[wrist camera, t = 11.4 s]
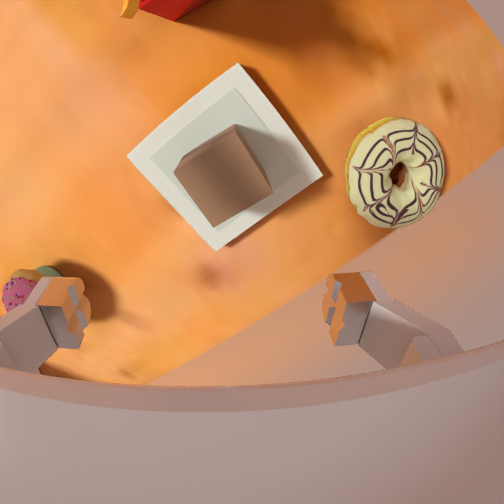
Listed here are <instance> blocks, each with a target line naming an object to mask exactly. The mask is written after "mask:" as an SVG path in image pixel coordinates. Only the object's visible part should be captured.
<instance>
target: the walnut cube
mask: <svg viewBox="0 0 504 504" xmlns="http://www.w3.org/2000/svg"><path fill="white" fill-rule="evenodd" d="M173 173H174V175H175V176H176V178H177V179H178V180H179V182H180V183H181V184H182V186H183V187H184V189H185V190H186V191H187V193H188V194H189V196H190V197H191V198H192V200H193V201H194V202H195V204H196V205H197V206H198V208H199V209H200V211H201V212H202V213H203V215H204V216H205V217H206V219H207V220H208V222H209V223H210V224H211V226H212V227H213V228H214V227H216V226H218V225H220V224H221V223H223V222H225V221H226V220H228V219H230V218H231V217H233V216H235V215H237V214H238V213H240V212H242V211H244V210H245V209H247V208H249V207H250V206H252V205H254V204H256V203H257V202H259V201H261V200H263V199H264V198H266V197H268V196H270V195H272V194H273V191H272V188H271V185H270V183H269V180H268V177H267V175H266V173H265V171H264V169H263V168H262V166H261V164H260V163H259V161H258V160H257V158H256V156H255V155H254V153H253V152H252V150H251V148H250V147H249V145H248V144H247V142H246V141H245V139H244V137H243V136H242V134H241V133H240V131H239V130H238V128H237V126H236V125H235V124H233V125H232V126H230V127H228V128H227V129H225V130H223V131H222V132H220V133H218V134H217V135H215V136H214V137H212V138H210V139H209V140H207V141H206V142H204V143H203V144H201V145H199V146H198V147H196V148H195V149H193V150H192V151H190V152H189V153H187V154H186V155H184V156H183V157H182V159H181V160H180V162H179V164H178V165H177V167H176V169H175V170H174V172H173Z"/></svg>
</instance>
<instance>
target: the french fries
mask: <svg viewBox="0 0 504 504" xmlns="http://www.w3.org/2000/svg"><path fill="white" fill-rule="evenodd" d="M210 1H212V0H124V2H123V7H122V12H121V17H124V18H130V19H132V18H133V16H134V15H135V14H136V12H137V11H138V9H140V10H143V11H146V12H149V13H152V14H155V15H158V16H160V17H163V18H166V19H168V20H171V21H176V20H178V19H179V18H181V17H183V16H185V15H186V14H188V13H190V12H192V11H193V10H195V9H197V8H199V7H201V6H203V5H205V4H207V3H208V2H210Z"/></svg>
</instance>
